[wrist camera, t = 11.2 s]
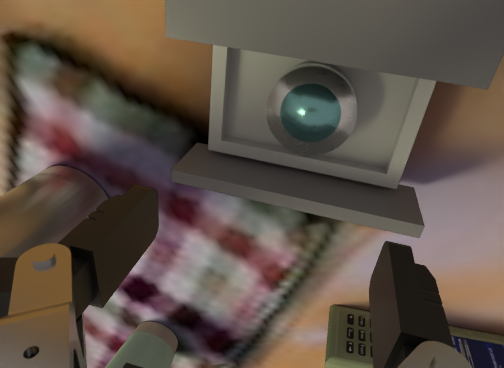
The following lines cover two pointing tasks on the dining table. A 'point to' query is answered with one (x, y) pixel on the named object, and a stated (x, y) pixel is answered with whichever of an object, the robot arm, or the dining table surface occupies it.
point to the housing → (356, 33)
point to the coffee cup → (147, 347)
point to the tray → (310, 166)
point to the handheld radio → (360, 342)
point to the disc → (312, 108)
